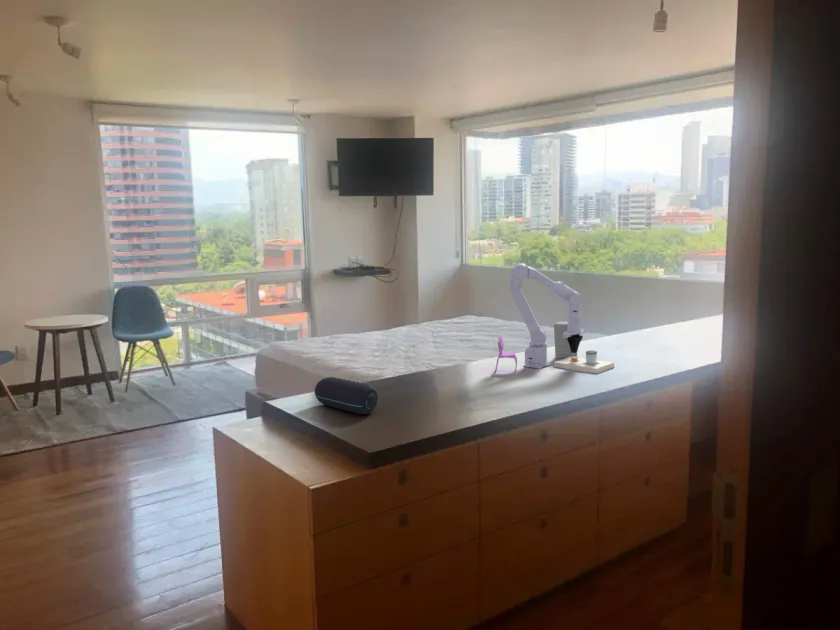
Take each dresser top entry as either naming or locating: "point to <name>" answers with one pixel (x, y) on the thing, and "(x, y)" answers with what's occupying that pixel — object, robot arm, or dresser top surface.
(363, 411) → the portable speaker
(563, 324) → the skincare box
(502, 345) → the toy chair
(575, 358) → the tan round piece
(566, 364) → the housing
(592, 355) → the cup
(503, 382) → the dresser top surface
